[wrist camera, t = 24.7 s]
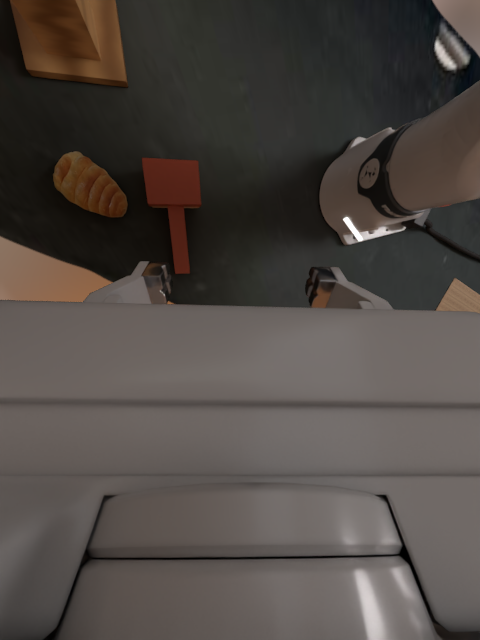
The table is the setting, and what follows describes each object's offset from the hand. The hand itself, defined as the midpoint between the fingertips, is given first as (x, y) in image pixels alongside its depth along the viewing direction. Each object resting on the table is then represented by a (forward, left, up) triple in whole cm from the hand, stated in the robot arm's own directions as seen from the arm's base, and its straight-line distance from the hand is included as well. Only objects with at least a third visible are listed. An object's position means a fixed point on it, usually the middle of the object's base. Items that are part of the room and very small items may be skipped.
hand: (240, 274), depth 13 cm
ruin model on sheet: (-70, +19, -30) cm, 79 cm away
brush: (+4, -7, -30) cm, 31 cm away
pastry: (+16, -12, -30) cm, 36 cm away
